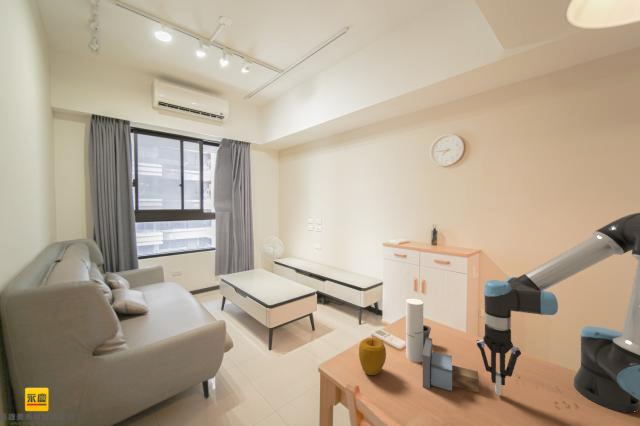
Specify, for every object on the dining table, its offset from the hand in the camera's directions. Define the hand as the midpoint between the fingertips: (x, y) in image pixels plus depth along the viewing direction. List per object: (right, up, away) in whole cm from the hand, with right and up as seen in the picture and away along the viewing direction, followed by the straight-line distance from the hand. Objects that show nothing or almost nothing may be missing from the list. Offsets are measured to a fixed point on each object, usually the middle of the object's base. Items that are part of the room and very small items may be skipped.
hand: (498, 392), depth 88 cm
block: (-16, -1, +8) cm, 18 cm away
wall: (-20, -1, +11) cm, 23 cm away
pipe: (-15, -1, +33) cm, 36 cm away
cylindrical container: (-21, -1, +23) cm, 31 cm away
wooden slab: (-11, -2, +7) cm, 13 cm away
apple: (-41, -2, +14) cm, 44 cm away
